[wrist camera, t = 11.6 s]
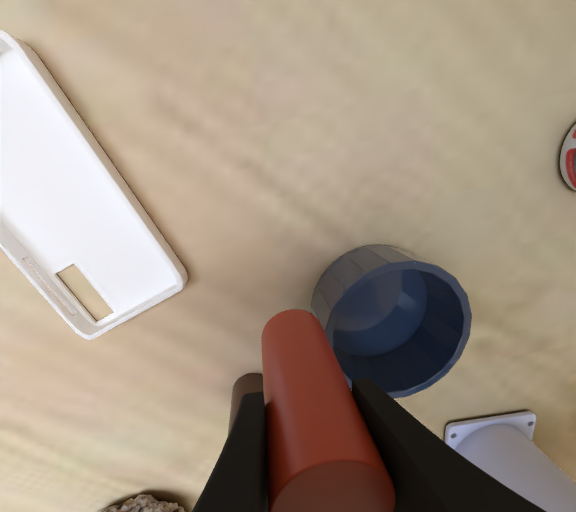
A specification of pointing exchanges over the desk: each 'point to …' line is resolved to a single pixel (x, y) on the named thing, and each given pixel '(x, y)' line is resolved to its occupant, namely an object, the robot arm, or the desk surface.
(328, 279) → the blue cup
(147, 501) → the mineral rock
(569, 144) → the pill bottle
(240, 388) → the walnut peg
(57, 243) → the phone case
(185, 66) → the desk surface
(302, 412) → the red peg
